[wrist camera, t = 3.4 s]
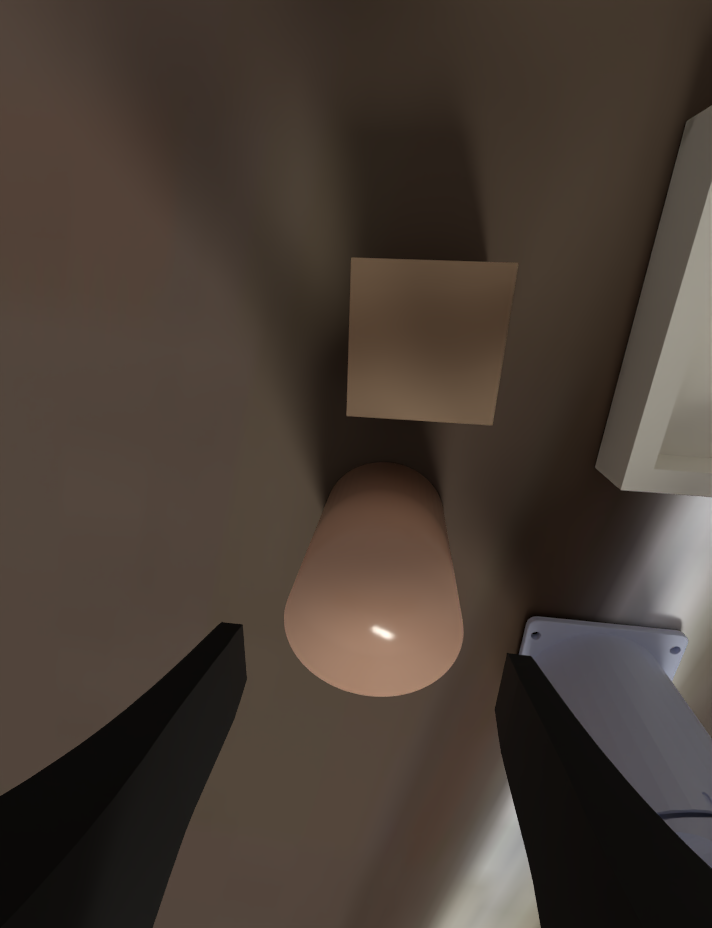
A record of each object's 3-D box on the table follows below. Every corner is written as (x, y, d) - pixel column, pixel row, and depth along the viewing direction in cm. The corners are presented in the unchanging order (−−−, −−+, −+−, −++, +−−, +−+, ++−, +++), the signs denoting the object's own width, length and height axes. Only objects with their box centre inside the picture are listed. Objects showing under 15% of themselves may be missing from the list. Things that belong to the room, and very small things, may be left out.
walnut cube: (471, 394, 19) (492, 425, 14) (360, 387, 19) (346, 415, 15) (487, 272, 17) (518, 262, 13) (365, 268, 18) (351, 257, 13)
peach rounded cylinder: (437, 571, 22) (452, 706, 15) (325, 561, 23) (286, 685, 16) (450, 466, 20) (475, 563, 13) (326, 457, 21) (281, 545, 13)
